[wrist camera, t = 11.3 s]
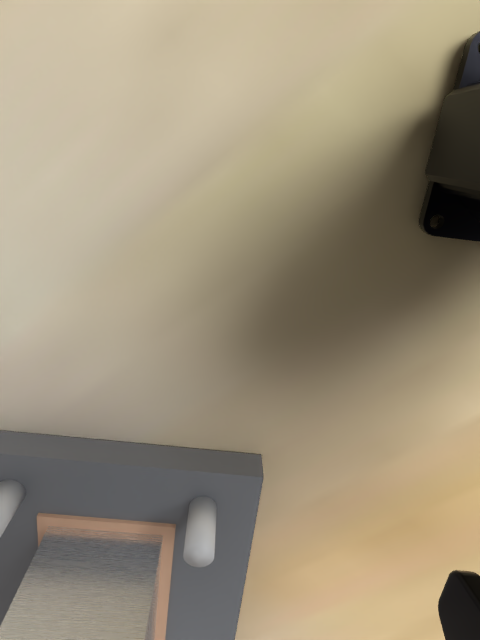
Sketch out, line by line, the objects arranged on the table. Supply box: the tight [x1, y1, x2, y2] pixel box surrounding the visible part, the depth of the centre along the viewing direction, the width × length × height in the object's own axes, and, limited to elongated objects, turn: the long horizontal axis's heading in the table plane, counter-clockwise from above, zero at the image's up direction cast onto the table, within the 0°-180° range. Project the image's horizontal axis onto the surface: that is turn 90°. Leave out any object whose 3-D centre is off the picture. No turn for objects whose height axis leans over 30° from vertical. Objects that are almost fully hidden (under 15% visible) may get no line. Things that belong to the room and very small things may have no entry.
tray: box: [0, 430, 263, 640], centre depth 21 cm, size 13×16×4 cm
